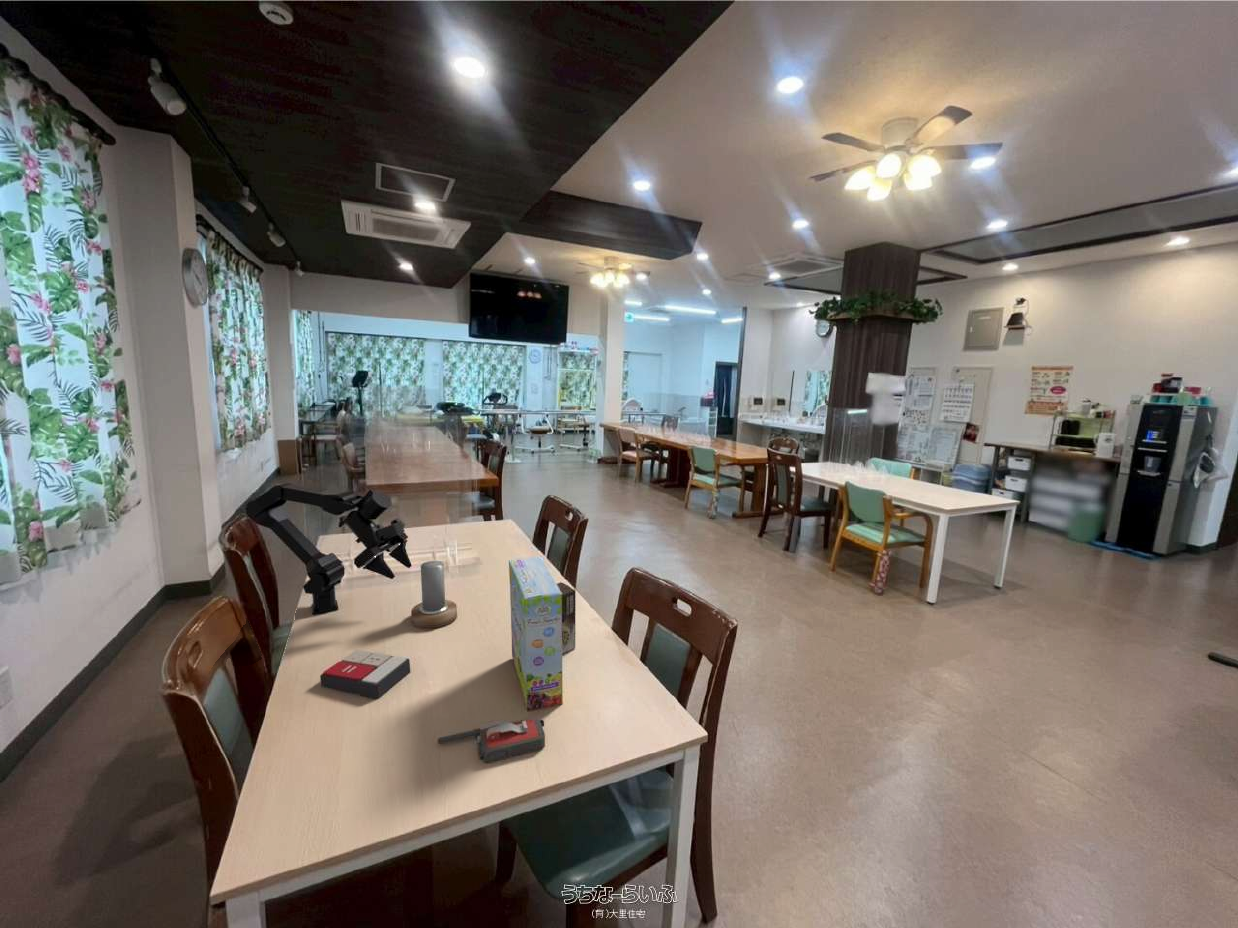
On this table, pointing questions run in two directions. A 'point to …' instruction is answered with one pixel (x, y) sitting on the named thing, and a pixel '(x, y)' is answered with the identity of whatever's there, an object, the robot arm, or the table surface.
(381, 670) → the calculator
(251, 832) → the table surface
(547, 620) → the snack box
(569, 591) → the coffee box
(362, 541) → the robot arm
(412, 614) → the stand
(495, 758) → the walkie-talkie
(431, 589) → the grey cylinder
